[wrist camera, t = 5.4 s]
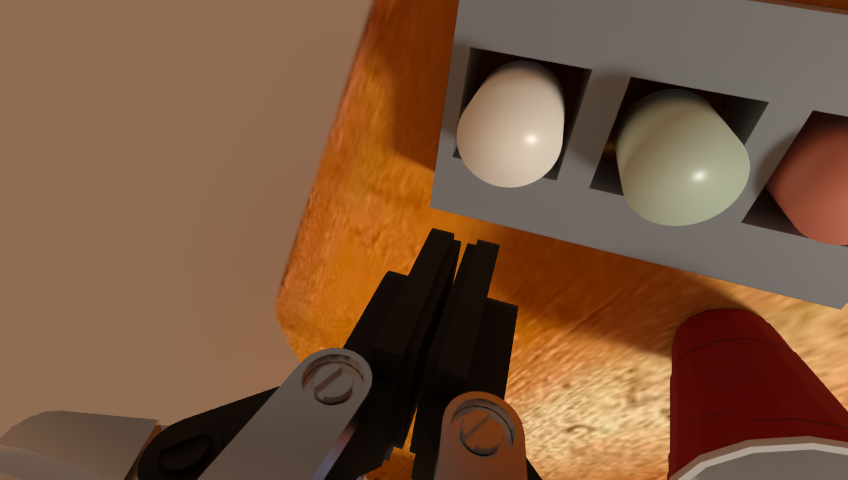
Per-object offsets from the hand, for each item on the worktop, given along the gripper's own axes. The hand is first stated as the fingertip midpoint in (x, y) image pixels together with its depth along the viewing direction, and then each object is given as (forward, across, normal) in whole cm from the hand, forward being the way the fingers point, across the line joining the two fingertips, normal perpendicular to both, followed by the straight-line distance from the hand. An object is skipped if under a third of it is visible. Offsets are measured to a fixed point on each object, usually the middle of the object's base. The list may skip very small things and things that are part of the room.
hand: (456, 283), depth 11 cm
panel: (+16, -7, 0) cm, 18 cm away
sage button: (+14, -7, 0) cm, 16 cm away
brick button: (+16, -14, 0) cm, 21 cm away
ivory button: (+14, 0, 0) cm, 14 cm away
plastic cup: (+17, -17, +12) cm, 27 cm away
